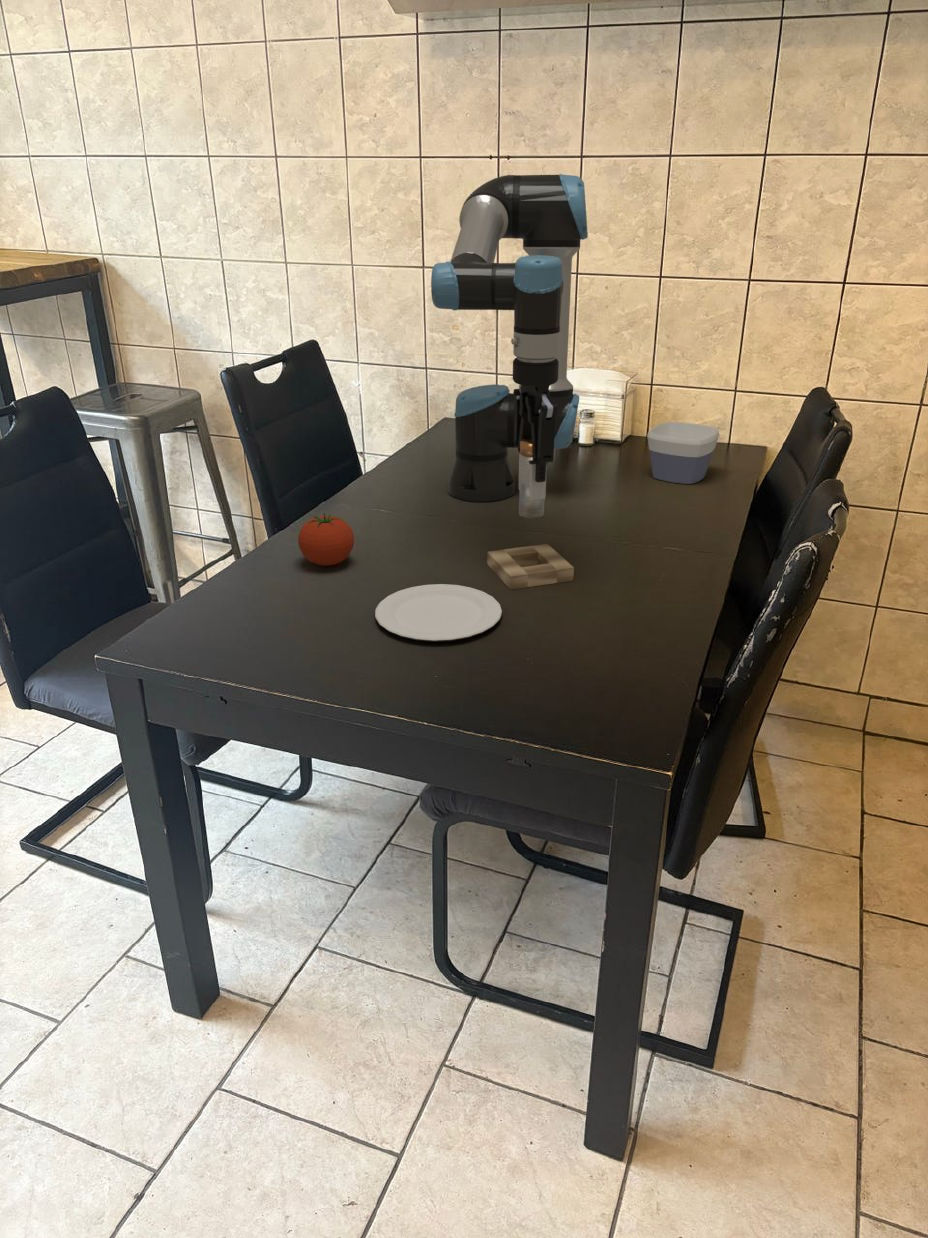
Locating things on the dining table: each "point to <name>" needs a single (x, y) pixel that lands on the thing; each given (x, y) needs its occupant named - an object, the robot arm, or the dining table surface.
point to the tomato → (326, 540)
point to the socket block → (543, 572)
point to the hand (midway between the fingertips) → (531, 493)
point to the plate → (438, 612)
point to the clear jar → (527, 484)
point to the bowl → (681, 451)
